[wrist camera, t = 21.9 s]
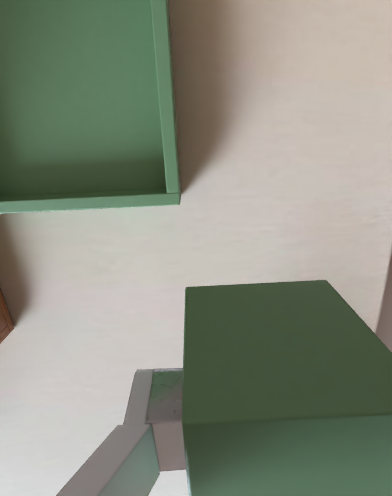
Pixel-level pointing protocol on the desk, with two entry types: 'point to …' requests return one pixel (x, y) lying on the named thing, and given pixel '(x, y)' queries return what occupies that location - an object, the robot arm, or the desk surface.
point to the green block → (284, 393)
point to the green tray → (86, 105)
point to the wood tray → (4, 320)
